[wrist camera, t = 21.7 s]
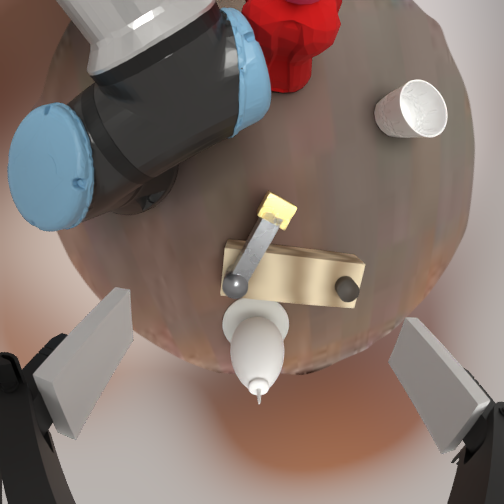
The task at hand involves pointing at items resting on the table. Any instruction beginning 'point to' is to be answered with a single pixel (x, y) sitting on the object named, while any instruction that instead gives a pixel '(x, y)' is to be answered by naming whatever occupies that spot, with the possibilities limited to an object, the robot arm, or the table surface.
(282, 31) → the red lumpy piece
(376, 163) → the table surface
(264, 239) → the lever
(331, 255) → the beige long block
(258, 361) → the sauce bottle
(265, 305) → the white round disc
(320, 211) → the table surface
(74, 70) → the table surface
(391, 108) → the white cup
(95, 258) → the table surface
